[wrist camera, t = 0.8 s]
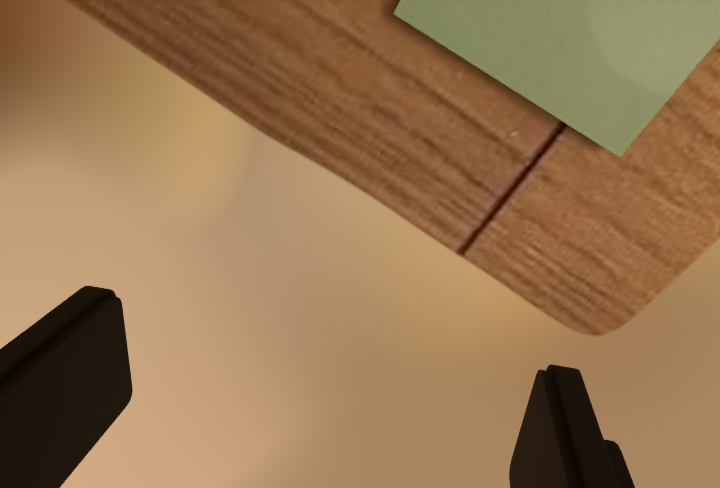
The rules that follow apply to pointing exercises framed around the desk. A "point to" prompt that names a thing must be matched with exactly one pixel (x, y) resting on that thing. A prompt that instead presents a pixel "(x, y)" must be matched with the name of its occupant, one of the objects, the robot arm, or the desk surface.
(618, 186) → the desk surface
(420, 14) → the board
